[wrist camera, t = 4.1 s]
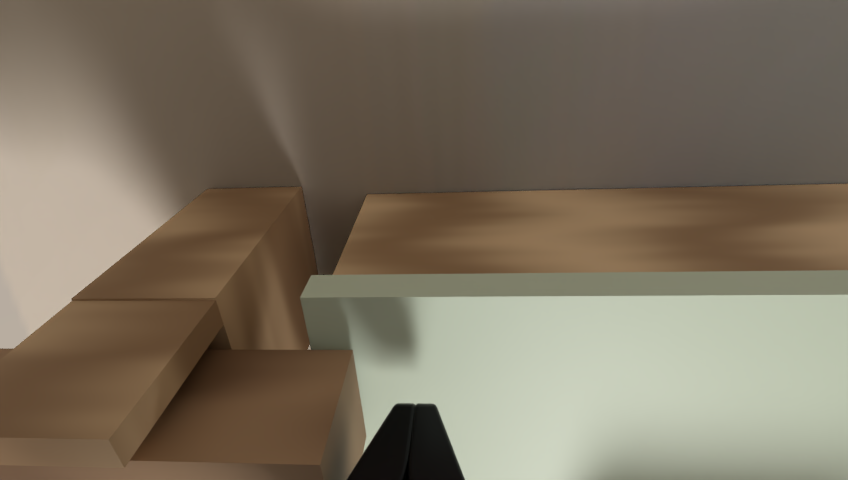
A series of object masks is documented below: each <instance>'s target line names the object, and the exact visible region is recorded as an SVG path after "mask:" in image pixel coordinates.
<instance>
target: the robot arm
mask: <svg viewBox="0 0 848 480" xmlns="http://www.w3.org/2000/svg"><path fill="white" fill-rule="evenodd" d="M347 480H465V478H464V476H463V473H462V470H461V468H460V465H459V463H458V460H457V457H456V455H455V452H454V450H453V447H452V444H451V442H450V439H449V437H448V434H447V431H446V429H445V426H444V424H443V421H442V419H441V416H440V413H439V411H438V408H437V406H436V405H435V404H431V403H418V404H416V405H415V404H413V403H397V404H395V405H394V406H393V408H392V409H391V411H390V412H389V414H388V415H387V417H386V419H385V420H384V422H383V423H382V425H381V426H380V428H379V429H378V431H377V433H376V434H375V436H374V437H373V439H372V440H371V442H370V444H369V445H368V447H367V448H366V450H365V451H364V453H363V455H362V456H361V458H360V459H359V461H358V462H357V464H356V465H355V467H354V469H353V470H352V472H351V473H350V475H349V476H348V478H347Z"/></svg>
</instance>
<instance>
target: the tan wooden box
mask: <svg viewBox="0 0 848 480" xmlns="http://www.w3.org/2000/svg"><path fill="white" fill-rule="evenodd" d="M820 270H848V184H809V185H764V186H719V187H674V188H629V189H584V190H539V191H494V192H449V193H404V194H367V196H366V198H365V201H364V203H363V205H362V208H361V210H360V212H359V215H358V217H357V219H356V222H355V224H354V226H353V229H352V231H351V233H350V236H349V238H348V240H347V243H346V245H345V247H344V250H343V252H342V254H341V257H340V259H339V261H338V264H337V266H336V268H335V271H334V273H333V275H372V274H484V273H596V272H708V271H820ZM311 275H318V271H317V266H316V261H315V255H314V250H313V245H312V239H311V234H310V229H309V223H308V218H307V213H306V207H305V202H304V197H303V191H302V187H267V188H225V189H207V190H206V191H204V192H203V193H202V194H201V195H199V196H198V197H197V198H196V199H194V200H193V201H192V202H191V203H189V204H188V205H187V206H186V207H184V208H183V209H182V210H181V211H180V212H178V213H177V214H176V215H175V216H173V217H172V218H171V219H170V220H168V221H167V222H166V223H165V224H163V225H162V226H161V227H160V228H158V229H157V230H156V231H155V232H154V233H152V234H151V235H150V236H149V237H147V238H146V239H145V240H144V241H142V242H141V243H140V244H139V245H137V246H136V247H135V248H134V249H132V250H131V251H130V252H129V253H128V254H126V255H125V256H124V257H123V258H121V259H120V260H119V261H118V262H116V263H115V264H114V265H113V266H111V267H110V268H109V269H108V270H106V271H105V272H104V273H103V274H102V275H100V276H99V277H98V278H97V279H95V280H94V281H93V282H92V283H90V284H89V285H88V286H87V287H85V288H84V289H83V290H82V291H80V292H79V293H78V294H77V295H76V296H74V297H73V298H72V302H70V303H69V304H68V305H67V306H66V307H64V308H63V309H62V310H61V311H59V312H58V313H57V314H56V315H54V316H53V317H52V318H51V319H50V320H48V321H47V322H46V323H45V324H43V325H42V326H41V327H40V328H39V329H37V330H36V331H35V332H34V333H32V334H31V335H30V336H29V337H28V338H26V339H25V340H24V341H23V342H21V343H20V344H19V345H18V346H16V347H15V348H14V349H13V350H12V351H10V352H9V353H8V354H7V355H5V356H4V357H3V358H2V359H1V360H0V465H17V466H58V467H100V468H125V467H126V465H127V464H128V462H129V461H130V459H131V458H132V456H133V455H134V454H135V452H136V451H137V449H138V448H139V446H140V445H141V443H142V442H143V440H144V439H145V438H146V436H147V435H148V433H149V432H150V430H151V429H152V427H153V426H154V425H155V423H156V422H157V420H158V419H159V417H160V416H161V414H162V413H163V412H164V410H165V409H166V407H167V406H168V404H169V403H170V401H171V400H172V398H173V397H174V396H175V394H176V393H177V391H178V390H179V388H180V387H181V385H182V384H183V383H184V381H185V380H186V378H187V377H188V375H189V374H190V372H191V371H192V369H193V368H194V367H195V365H196V364H197V362H198V361H199V359H200V358H201V356H202V355H203V354H204V352H205V351H206V349H221V350H307V349H308V347H309V344H310V342H309V337H308V333H307V328H306V323H305V319H304V314H303V309H302V305H301V300H300V296H301V294H302V292H303V290H304V288H305V286H306V285H307V283H308V281H309V279H310V277H311Z"/></svg>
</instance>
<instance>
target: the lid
mask: <svg viewBox="0 0 848 480" xmlns="http://www.w3.org/2000/svg"><path fill="white" fill-rule="evenodd" d="M300 300H301V305H302V309H303V314H304V319H305V323H306V328H307V333H308V337H309V342H310V347H311V350H353V355H354V361H355V367H356V374H357V380H358V386H359V392H360V399H361V405H362V411H363V417H364V424H365V430H366V441H365V446H364V451H365V450H366V448H367V447H368V445H369V444H370V442H371V440H372V439H373V437H374V436H375V434H376V433H377V431H378V429H379V428H380V426H381V425H382V423H383V422H384V420H385V419H386V417H387V415H388V414H389V412H390V411H391V409H392V408H393V406H394V405H395V404H397V403H413V404H415V405H416V404H418V403H431V404H435V405H436V406H437V408H438V411H439V413H440V416H441V419H442V421H443V424H444V426H445V429H446V431H447V434H448V437H449V439H450V442H451V444H452V447H453V450H454V452H455V455H456V457H457V460H458V463H459V465H460V468H461V470H462V473H463V476H464V478H465V480H848V270H820V271H708V272H596V273H484V274H372V275H311V277H310V279H309V281H308V283H307V285H306V286H305V288H304V290H303V292H302V294H301V296H300ZM364 451H363V453H364Z"/></svg>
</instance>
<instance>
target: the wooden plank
mask: <svg viewBox="0 0 848 480" xmlns="http://www.w3.org/2000/svg"><path fill="white" fill-rule="evenodd" d="M12 350H13V349H0V360H1V359H2V358H3V357H4V356H5V355H7V354H8V353H9V352H10V351H12ZM365 441H366V430H365V424H364V417H363V411H362V405H361V399H360V392H359V386H358V380H357V374H356V367H355V361H354V355H353V350H221V349H206V351H205V352H204V354H203V355H202V356H201V358H200V359H199V361H198V362H197V364H196V365H195V367H194V368H193V369H192V371H191V372H190V374H189V375H188V377H187V378H186V380H185V381H184V383H183V384H182V385H181V387H180V388H179V390H178V391H177V393H176V394H175V396H174V397H173V398H172V400H171V401H170V403H169V404H168V406H167V407H166V409H165V410H164V412H163V413H162V414H161V416H160V417H159V419H158V420H157V422H156V423H155V425H154V426H153V427H152V429H151V430H150V432H149V433H148V435H147V436H146V438H145V439H144V440H143V442H142V443H141V445H140V446H139V448H138V449H137V451H136V452H135V454H134V455H133V456H132V458H131V459H130V461H129V462H128V464H127V465H126V467H125V468H100V467H58V466H17V465H0V480H347V478H348V476H349V475H350V473H351V472H352V470H353V469H354V467H355V465H356V464H357V462H358V461H359V459H360V458H361V456H362V455H363V451H364V446H365Z"/></svg>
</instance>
